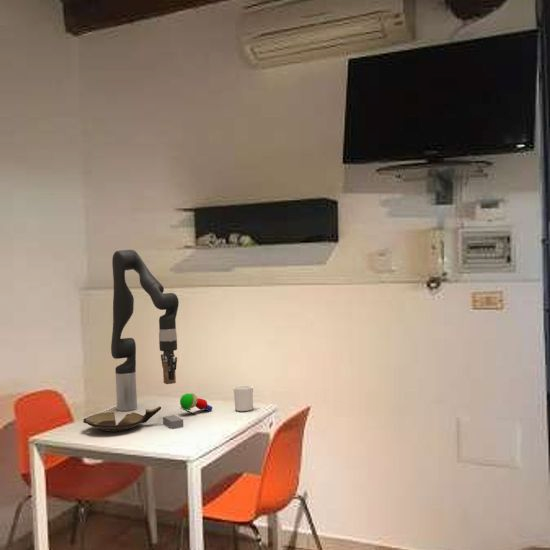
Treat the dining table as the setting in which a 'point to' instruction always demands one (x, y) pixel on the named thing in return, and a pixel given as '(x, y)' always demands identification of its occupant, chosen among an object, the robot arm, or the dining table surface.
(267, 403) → the dining table surface
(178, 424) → the hammer head
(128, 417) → the oil lamp
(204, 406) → the toy
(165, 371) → the block
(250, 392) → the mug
